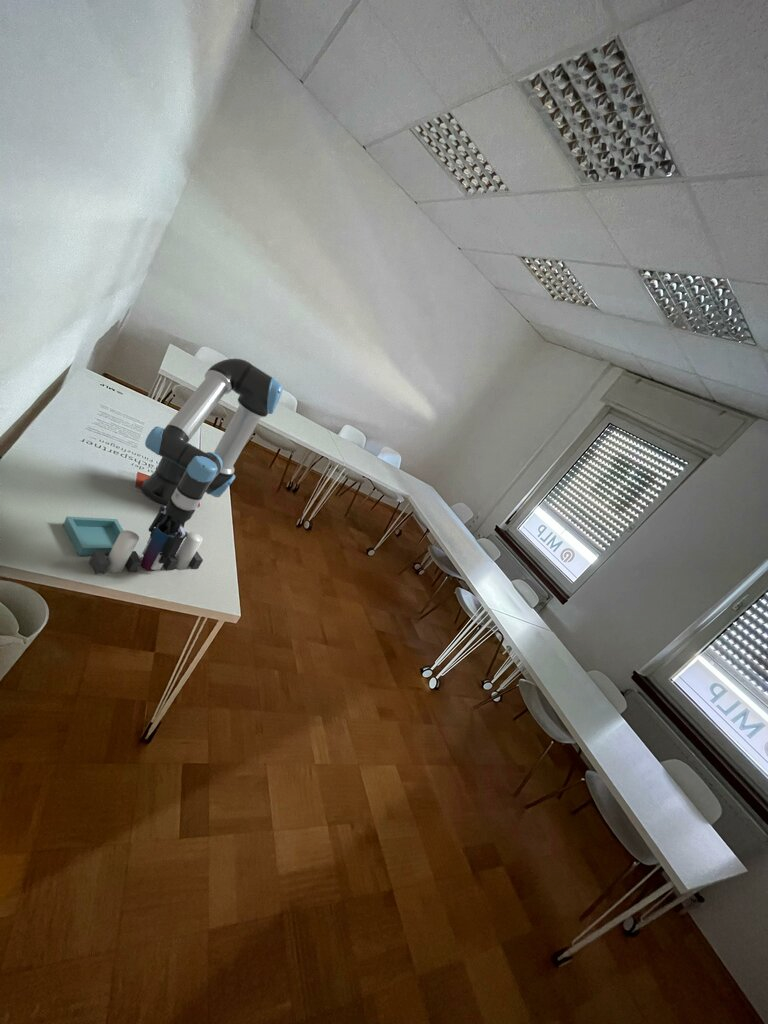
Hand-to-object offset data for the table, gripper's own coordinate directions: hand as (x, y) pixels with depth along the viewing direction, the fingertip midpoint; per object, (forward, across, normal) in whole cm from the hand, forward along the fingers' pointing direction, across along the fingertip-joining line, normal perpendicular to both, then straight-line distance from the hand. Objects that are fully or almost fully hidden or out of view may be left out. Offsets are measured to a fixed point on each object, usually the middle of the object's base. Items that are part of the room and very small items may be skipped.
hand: (151, 561), depth 132 cm
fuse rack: (+2, 0, 0) cm, 2 cm away
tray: (+2, -12, -11) cm, 16 cm away
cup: (+2, 0, 0) cm, 2 cm away
